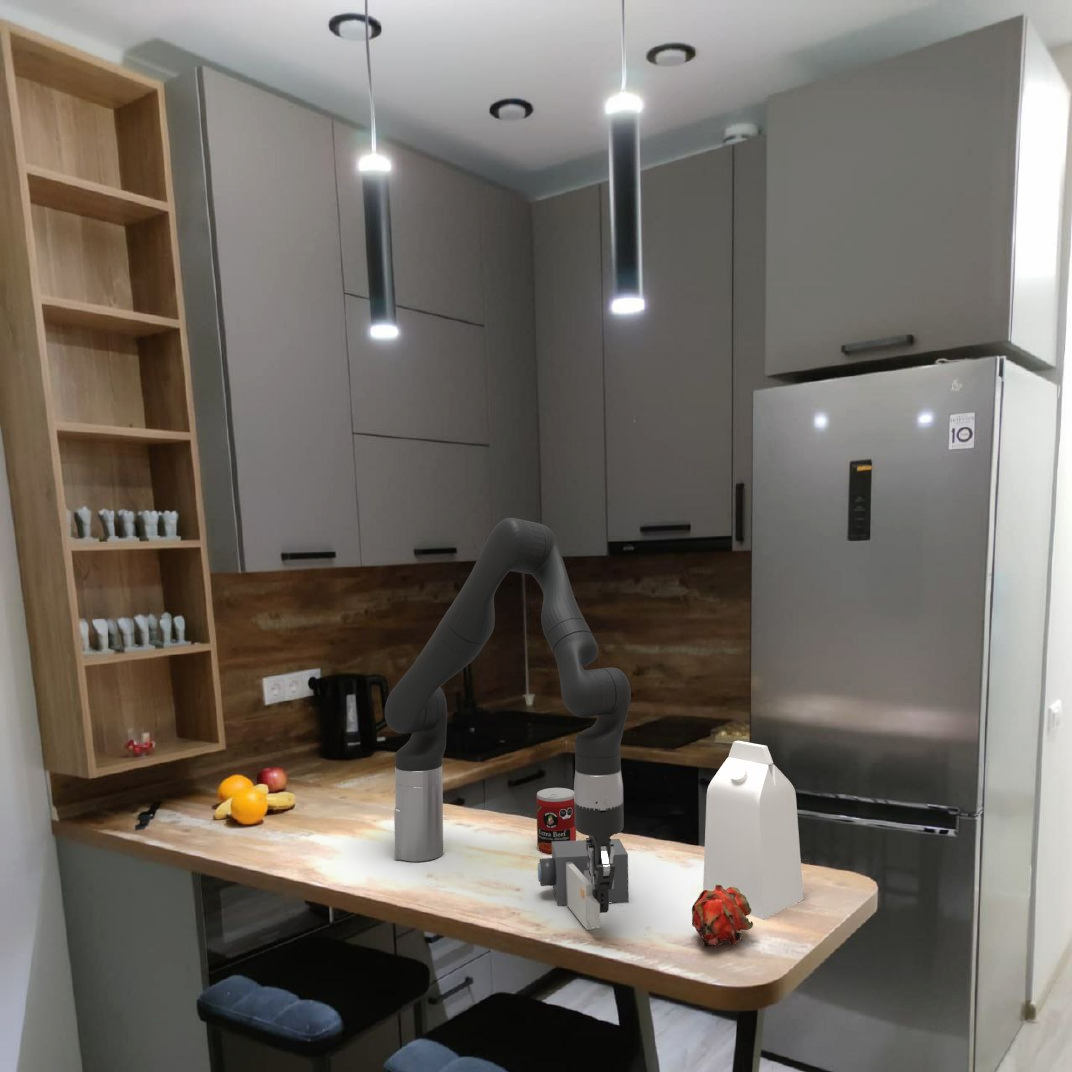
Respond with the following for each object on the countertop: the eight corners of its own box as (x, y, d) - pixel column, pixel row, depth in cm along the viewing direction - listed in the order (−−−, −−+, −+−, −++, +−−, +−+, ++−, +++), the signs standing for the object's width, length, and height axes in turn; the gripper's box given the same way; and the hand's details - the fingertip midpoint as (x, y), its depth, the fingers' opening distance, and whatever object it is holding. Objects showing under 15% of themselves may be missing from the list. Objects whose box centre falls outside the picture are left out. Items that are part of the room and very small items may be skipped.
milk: (803, 900, 146) (800, 744, 147) (763, 919, 139) (760, 755, 139) (743, 880, 155) (741, 733, 156) (702, 897, 148) (700, 743, 148)
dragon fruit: (744, 936, 136) (711, 978, 127) (701, 896, 140) (665, 933, 130) (772, 902, 132) (739, 942, 123) (727, 861, 136) (692, 897, 127)
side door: (564, 903, 145) (564, 862, 145) (572, 902, 145) (571, 861, 145) (592, 939, 131) (592, 893, 131) (600, 938, 132) (600, 892, 132)
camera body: (541, 906, 145) (540, 852, 145) (536, 888, 153) (536, 836, 153) (628, 902, 146) (627, 848, 146) (619, 884, 154) (619, 833, 154)
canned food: (532, 853, 171) (531, 796, 171) (544, 840, 178) (544, 786, 178) (569, 857, 168) (568, 799, 168) (580, 843, 176) (580, 788, 176)
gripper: (568, 787, 141) (570, 894, 141) (580, 813, 127) (583, 932, 128) (614, 785, 141) (616, 892, 141) (631, 811, 128) (633, 928, 128)
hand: (600, 910), depth 135 cm, fingers closed
